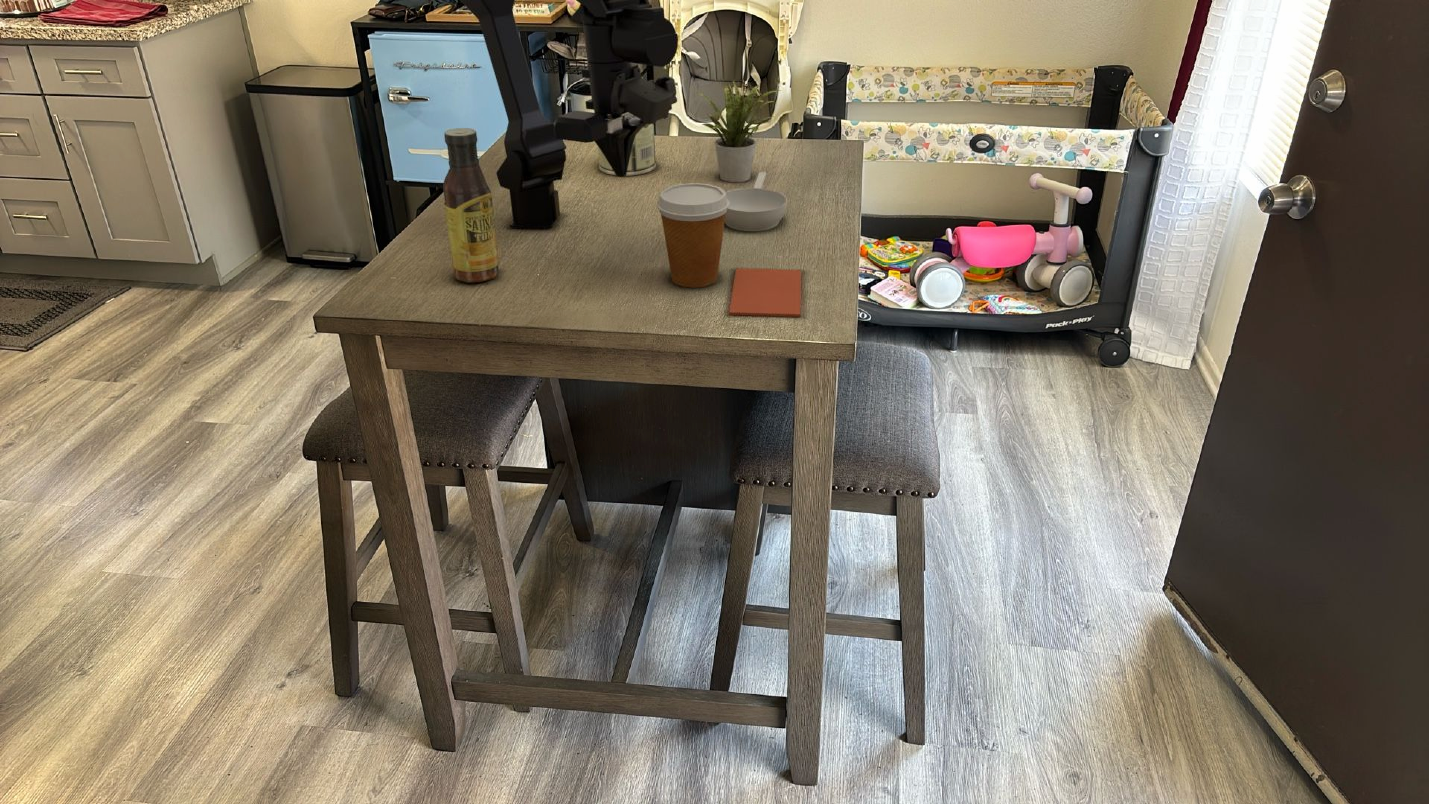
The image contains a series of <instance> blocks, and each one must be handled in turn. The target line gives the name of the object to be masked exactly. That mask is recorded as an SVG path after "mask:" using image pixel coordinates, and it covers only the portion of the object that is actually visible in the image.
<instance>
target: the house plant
mask: <svg viewBox="0 0 1429 804" xmlns="http://www.w3.org/2000/svg"><path fill="white" fill-rule="evenodd" d="M726 83H727V84H728V86H729V87H728V86H727V85H726V84H725V85H724V90H723V91H724V97H725V98H724V100H725V101H724V102H725V118H724V116H723V114H722V113H721V112H720V110H719V108H718V107H717V106H716V104H715V103H714V102H713V101H712V100H711V99H710V98H709V97H707V96H706V95H704V94H703V93H701V92H696V91H695V93H696V94H699V95H700V96H702V97H703V98H704V99H705V100H706V101H707V102H708V103H709V104H710V105H711V107H712V108H713V109H714V111H715V112H716V114H717V115H718V117H719V119H720V121H721V122H722V123H721V122H720V121H719V120H718V119H717V118H716V117H714V116H713V115H712V114H710V113H707V116H708V117H709V118H710V120H711V122H712V123H708V122H707V123H706V122H705V123H702V124H701V126H705V127H707V128H709V129H710V130H712V131H714V132H716V133H717V135H718V136H719V137H720V138H717V139H715V141H714V146H715V153H716V157H717V159H716V160H717V164H718V170H719V177H720V180H722V181H724V182H729V183H742V182H743V183H744V182H746V181H748V180H750V178H751V175H752V168H753V163H754V156H755V151H756V146H757V141H756V140H755V139H754V138H753V137H752V136H753V133H754V134H756V133H757V132H758V130H759V127H760V126H761V125H762V124H763V123H764V122H766V123H768V124H769V125H771V123H770V122H769V121H768V120H769V119H772V118H773V116H768V117H765V118H764V119H763V118H755V116H756V115H757V114H758V112H759V111H760V110H761V109H762V108H763V107H765V106H766V105H767V104H769V103H776V101H774V100H771V101H769V100H768V101H765V100H763V99H764V98H765V97H766V96H768V95H770V94H772V93H777V92H781V91H782V90H781V89H780V90H779V89H778V90H769V91H767V92H765V93H763V94H762V95H760V96H759V97H758V98H756V100H755V101H754V102H752V101H753V99H754V97H755V95H756V94H757V92H758V91H757V90H758V88H759V86H760V84H757V85H755V86H754V87H752V89H751V90H750V91H749V92H748V94H747V97H746V99H745V95H744V94H743V95H741V93H740V90H739V88H738V86H737V84H736V82H735V81H734V80H732V83H733V88H734V91H733V89H732V86H731V84H729V82H726ZM759 103H762V104H761V105H760V106H759V107H758V108H757V109H756V111H755V112H754V114H753V115H752V117H751V118H750V120H749V122H748V123H746V122H747V120H748V118H749V117H750V115H751V114H752V111H754V109H755V107H756V106H757V105H758V104H759ZM759 121H760V122H759ZM756 122H759V123H758V124H756V126H752V125H754V124H755V123H756ZM722 124H723V125H724V126H723V125H722ZM751 126H752V127H751ZM750 130H751V131H750Z"/></svg>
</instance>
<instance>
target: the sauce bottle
mask: <svg viewBox="0 0 1429 804" xmlns="http://www.w3.org/2000/svg"><path fill="white" fill-rule="evenodd" d="M443 134H444V135H443V136H444V143H445V145H446V146H447V155H448V166H449V168H448V172H446V175H445V177H444V179H443V183H442V184H443V185H442V191H443V198H444V204H443V205H444V212H445V220H446V221H445V222H446V226H447V227H446V229H447V237H448V243H449V245H448V246H449V250H450V251H449V253H450V260H451V267H453V275H454V278H456V280H457V281H459V282H463V283H468V284H470V283H472V284H473V283H482V282H486V281H489V280H492V279H493V278H495V277H496V276H497V275H498V273H499V253H498V243H497V235H496V223H495V217H494V216H495V214H494V206H493V197H492V196H493V195H492V191H491V189H490V187H489V184H488V183H487V181H486V178H485V175H484V173H483V170H482V168H481V165H480V160H479V156H478V147H477V143H478V135H477V134H478V133H477V131H476V130H475V129H473V128H468V127H460V128H459V127H458V128H457V127H456V128H451V129H450V128H449V129H448V130H446V131H444V132H443Z"/></svg>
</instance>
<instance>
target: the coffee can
mask: <svg viewBox="0 0 1429 804" xmlns="http://www.w3.org/2000/svg"><path fill="white" fill-rule="evenodd" d="M608 116H609V114H608ZM597 149H598V162H599V163H598V164H599V167H598V168H599V171H601V172H602V173H604V174H606V175H611V176H616V174H615V172H614V171H613V169H612V167H611V166H610V164H609V163H608V161H607V159H606V158H605V156H604V154H603V153H602V151H601V150H600V148H599V147H598V146H597ZM656 167H657V163H656V144H655V123H653V124H647V125H646V126H644V127H643V128H642V129H641V130H640V131H639V132H638V133H637V134H636V136H635V139H634V142H633V146H632V150H631V155H630V160H629V164H628V169H627V173H626V175H625V176H624V177H627V176H628V177H629V176H630V177H631V176H632V177H633V176H639V175H644V174H647V173H650V172H652V171H654V170H655V169H656Z"/></svg>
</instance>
